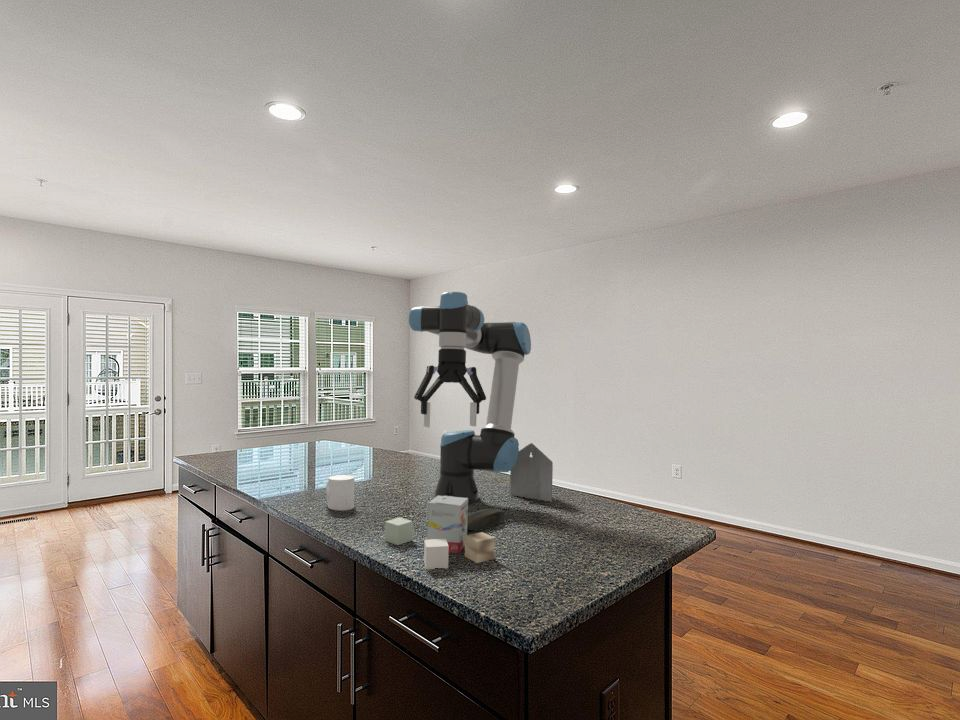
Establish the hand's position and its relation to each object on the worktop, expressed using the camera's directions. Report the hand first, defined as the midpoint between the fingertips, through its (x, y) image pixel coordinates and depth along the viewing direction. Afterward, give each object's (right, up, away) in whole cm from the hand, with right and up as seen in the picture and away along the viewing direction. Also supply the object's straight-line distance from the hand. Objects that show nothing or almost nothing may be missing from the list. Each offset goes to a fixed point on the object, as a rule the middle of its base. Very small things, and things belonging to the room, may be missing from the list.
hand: (450, 426), depth 138 cm
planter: (+28, -31, +42) cm, 59 cm away
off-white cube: (-2, -28, -23) cm, 37 cm away
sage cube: (-13, -29, -7) cm, 32 cm away
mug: (-37, -29, +24) cm, 53 cm away
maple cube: (+8, -29, -18) cm, 35 cm away
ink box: (0, -29, -11) cm, 31 cm away
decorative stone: (+8, -30, +7) cm, 31 cm away
